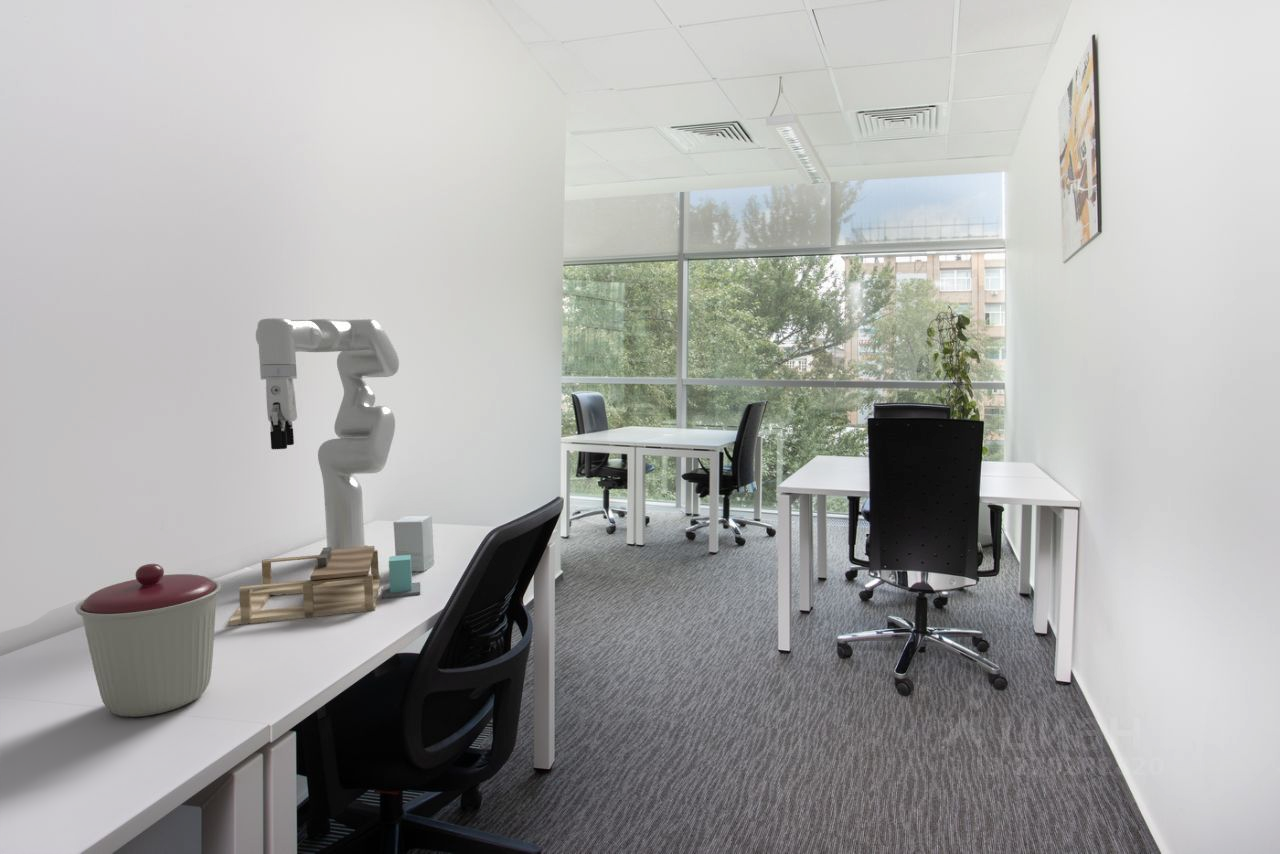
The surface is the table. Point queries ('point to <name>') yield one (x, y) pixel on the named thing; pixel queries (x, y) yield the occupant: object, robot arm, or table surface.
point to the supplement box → (415, 541)
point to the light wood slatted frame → (308, 595)
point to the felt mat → (414, 591)
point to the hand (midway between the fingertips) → (283, 447)
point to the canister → (151, 640)
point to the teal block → (400, 573)
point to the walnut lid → (343, 562)
